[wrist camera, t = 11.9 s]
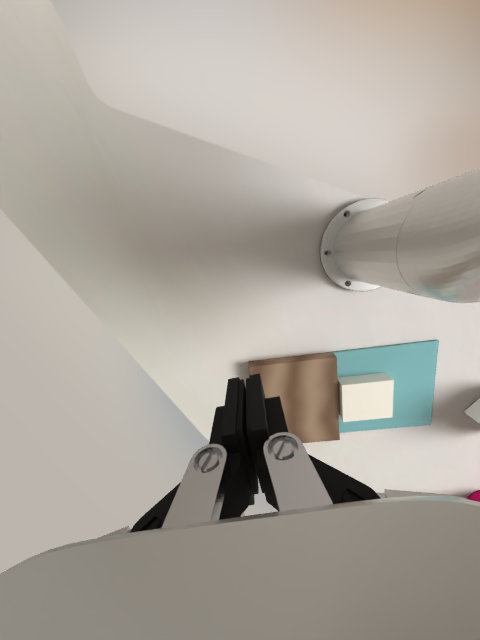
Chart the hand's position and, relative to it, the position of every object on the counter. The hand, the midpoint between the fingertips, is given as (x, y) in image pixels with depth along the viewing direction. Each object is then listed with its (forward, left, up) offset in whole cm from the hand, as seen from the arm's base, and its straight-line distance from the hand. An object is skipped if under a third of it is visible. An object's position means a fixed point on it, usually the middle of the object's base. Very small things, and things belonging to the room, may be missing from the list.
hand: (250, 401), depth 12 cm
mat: (-21, +18, -26) cm, 37 cm away
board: (-6, +18, -26) cm, 32 cm away
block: (-17, +18, -24) cm, 35 cm away
